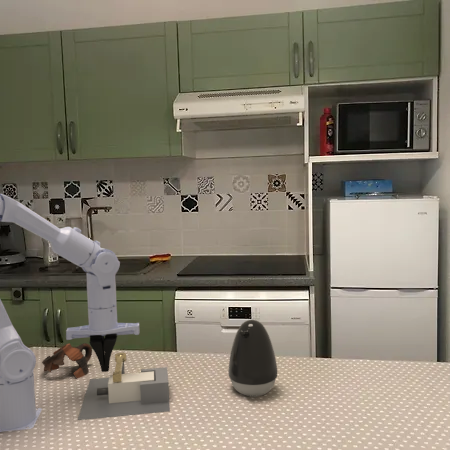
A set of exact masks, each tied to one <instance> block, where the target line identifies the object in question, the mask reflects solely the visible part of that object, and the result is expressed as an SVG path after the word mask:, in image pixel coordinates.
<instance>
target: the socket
mask: <svg viewBox="0 0 450 450" xmlns="http://www.w3.org/2000/svg"><path fill="white" fill-rule="evenodd" d="M152 371H154V381H149V382H140V391H141V401H130V402H119V403H109V395H98V396H97V388H106V387H108V382H109V377H99V378H90V379H89V381H88V385H87V388H86V391H85V394H84V398H83V400H82V404H81V407H80V411H79V414H78V417H77V421H83V420H84V421H86V420H95V419H104V418H106V419H107V418H114V417H115V418H116V417H126V416H136V415H137V416H138V415H148V414H156V413H167V412H171V410H170V408H171V406H170V389H169V383H170V382H169V373H168V372H169V371H168V367H167V366H165V367H152V368H141V369H140V372H152ZM125 372H126V371H125V362H123V366H122V374H126V373H125Z"/></svg>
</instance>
